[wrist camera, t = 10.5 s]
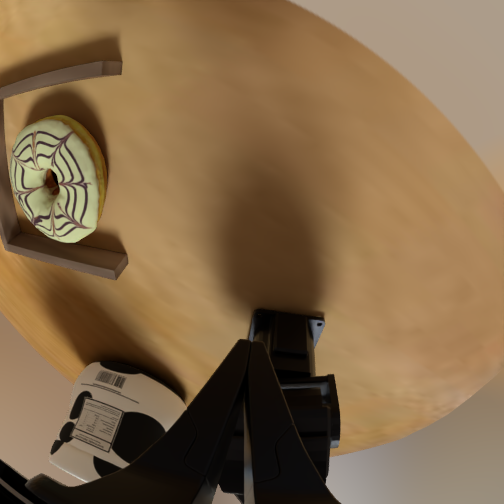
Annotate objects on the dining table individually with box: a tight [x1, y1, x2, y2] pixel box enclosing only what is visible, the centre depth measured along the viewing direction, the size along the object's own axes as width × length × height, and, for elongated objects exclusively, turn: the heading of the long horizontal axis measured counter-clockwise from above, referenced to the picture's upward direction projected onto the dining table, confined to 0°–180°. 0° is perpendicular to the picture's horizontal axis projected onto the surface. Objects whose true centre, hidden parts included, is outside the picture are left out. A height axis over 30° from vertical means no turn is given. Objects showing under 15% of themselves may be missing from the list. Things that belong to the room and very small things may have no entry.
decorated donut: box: [10, 115, 107, 243], centre depth 18 cm, size 10×11×4 cm
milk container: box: [49, 361, 187, 483], centre depth 29 cm, size 17×17×18 cm
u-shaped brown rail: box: [0, 61, 128, 280], centre depth 18 cm, size 17×16×2 cm
